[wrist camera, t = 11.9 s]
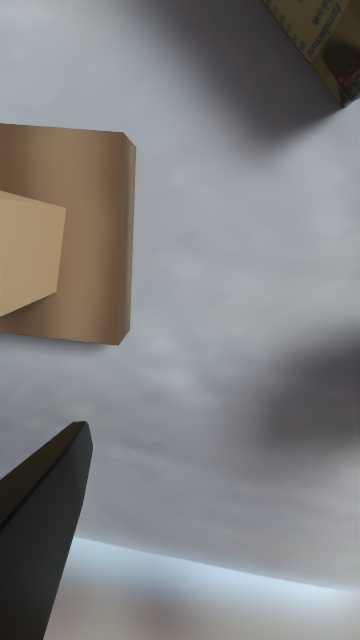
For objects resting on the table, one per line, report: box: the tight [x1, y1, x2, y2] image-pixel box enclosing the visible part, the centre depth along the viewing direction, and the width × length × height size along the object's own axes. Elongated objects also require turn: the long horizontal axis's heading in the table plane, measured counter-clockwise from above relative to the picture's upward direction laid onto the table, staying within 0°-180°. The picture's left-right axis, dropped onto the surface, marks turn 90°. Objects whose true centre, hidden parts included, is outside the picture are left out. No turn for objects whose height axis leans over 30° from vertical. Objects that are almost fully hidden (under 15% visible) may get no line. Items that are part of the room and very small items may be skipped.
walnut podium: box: [0, 123, 136, 345], centre depth 19 cm, size 12×12×3 cm
